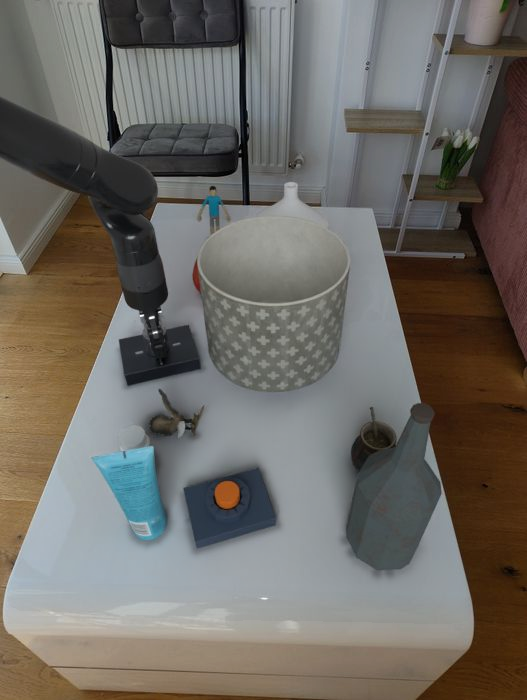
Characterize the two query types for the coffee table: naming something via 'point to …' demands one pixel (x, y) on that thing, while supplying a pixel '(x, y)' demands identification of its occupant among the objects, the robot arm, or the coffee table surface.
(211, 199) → the figurine
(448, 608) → the coffee table surface
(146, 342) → the program dial
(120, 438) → the pill bottle
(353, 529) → the bottle
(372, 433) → the mate gourd
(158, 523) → the tube
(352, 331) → the coffee table surface
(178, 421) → the eagle figurine
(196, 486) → the button block
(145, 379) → the dial panel
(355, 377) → the coffee table surface
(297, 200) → the vase
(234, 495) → the button
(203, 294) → the planter
